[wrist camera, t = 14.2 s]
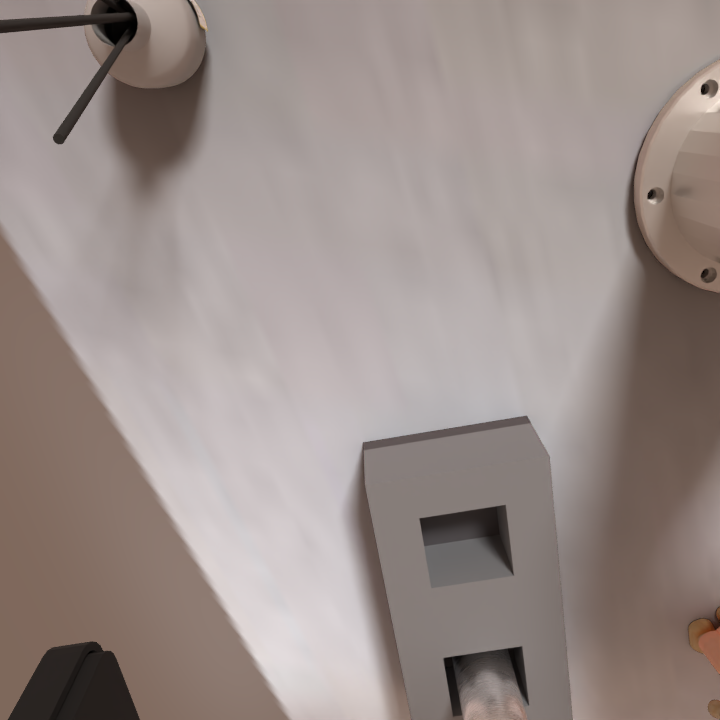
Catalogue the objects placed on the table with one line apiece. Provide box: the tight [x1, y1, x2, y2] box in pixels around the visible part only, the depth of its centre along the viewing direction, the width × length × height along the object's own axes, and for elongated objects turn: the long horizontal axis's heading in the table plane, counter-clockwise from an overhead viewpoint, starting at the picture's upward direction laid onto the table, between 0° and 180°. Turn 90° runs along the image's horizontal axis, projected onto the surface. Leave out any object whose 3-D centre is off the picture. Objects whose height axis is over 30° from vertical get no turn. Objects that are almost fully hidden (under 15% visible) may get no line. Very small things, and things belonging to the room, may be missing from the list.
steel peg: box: [452, 649, 528, 720], centre depth 40 cm, size 4×4×12 cm
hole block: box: [363, 416, 573, 720], centre depth 43 cm, size 10×20×5 cm, turn 10°
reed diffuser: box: [0, 0, 208, 144], centre depth 24 cm, size 10×7×20 cm
